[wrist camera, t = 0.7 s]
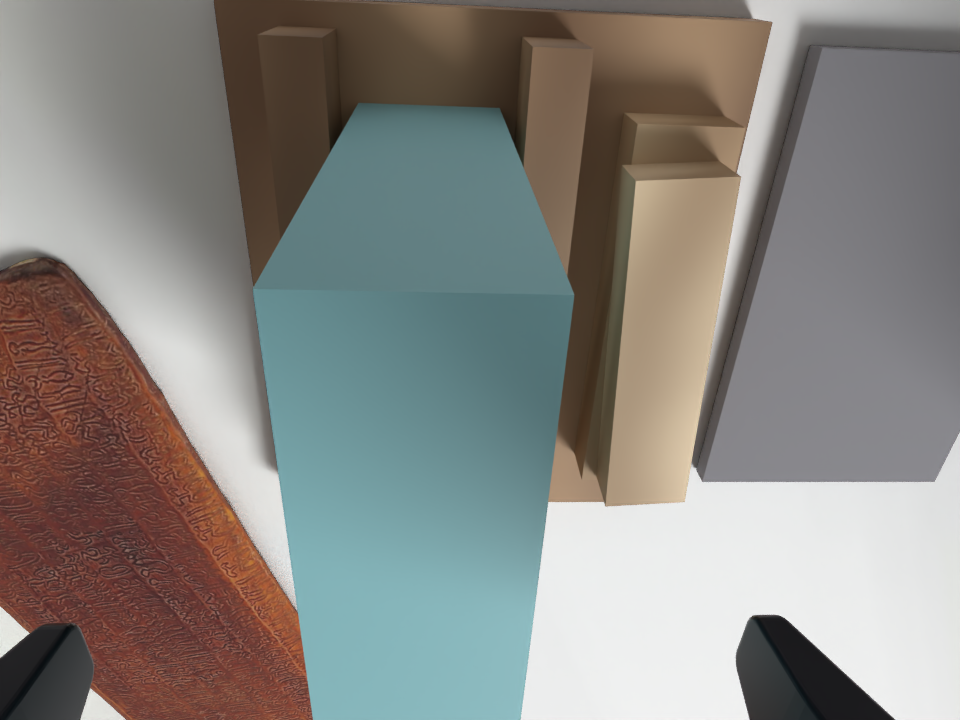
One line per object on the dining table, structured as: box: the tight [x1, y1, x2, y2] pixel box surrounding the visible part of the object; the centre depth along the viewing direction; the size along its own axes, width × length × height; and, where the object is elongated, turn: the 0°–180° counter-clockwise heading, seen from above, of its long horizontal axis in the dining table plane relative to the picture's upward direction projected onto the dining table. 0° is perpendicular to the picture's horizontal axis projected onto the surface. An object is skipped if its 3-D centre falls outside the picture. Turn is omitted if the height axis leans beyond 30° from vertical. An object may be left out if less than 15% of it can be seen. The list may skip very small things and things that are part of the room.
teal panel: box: [253, 103, 574, 720], centre depth 14 cm, size 3×10×10 cm, turn 177°
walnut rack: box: [214, 0, 772, 502], centre depth 18 cm, size 12×14×3 cm
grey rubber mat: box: [696, 45, 960, 482], centre depth 19 cm, size 8×13×1 cm, turn 177°
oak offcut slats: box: [574, 113, 746, 506], centre depth 17 cm, size 3×10×2 cm, turn 178°
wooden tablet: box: [0, 258, 313, 720], centre depth 25 cm, size 27×10×2 cm, turn 15°
